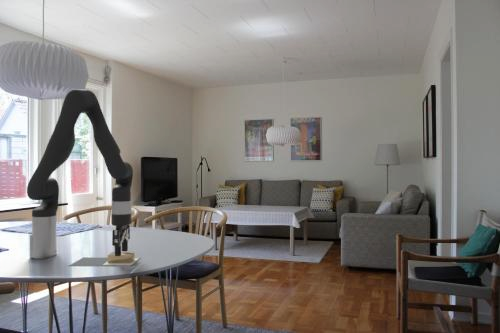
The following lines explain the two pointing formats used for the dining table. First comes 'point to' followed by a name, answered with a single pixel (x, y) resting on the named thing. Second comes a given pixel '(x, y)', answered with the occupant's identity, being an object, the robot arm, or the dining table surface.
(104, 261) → the mat
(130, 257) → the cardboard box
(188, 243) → the dining table surface
